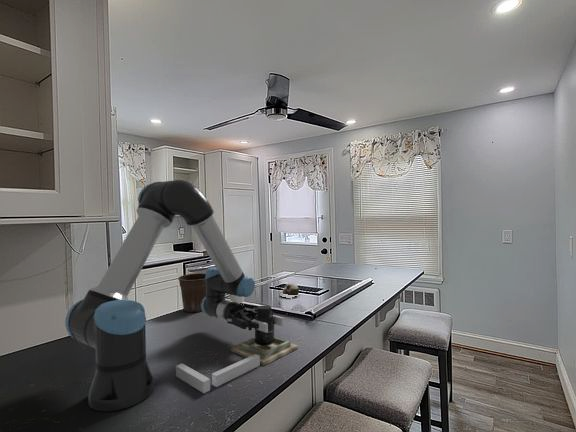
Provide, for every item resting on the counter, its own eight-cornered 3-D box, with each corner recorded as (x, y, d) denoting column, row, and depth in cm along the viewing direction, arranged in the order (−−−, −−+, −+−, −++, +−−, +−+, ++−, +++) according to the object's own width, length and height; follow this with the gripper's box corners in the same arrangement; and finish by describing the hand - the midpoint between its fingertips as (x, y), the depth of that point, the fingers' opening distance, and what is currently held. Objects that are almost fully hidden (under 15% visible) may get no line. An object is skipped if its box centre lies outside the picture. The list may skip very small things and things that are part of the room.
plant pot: (195, 315, 149) (194, 280, 149) (171, 311, 157) (170, 277, 157) (219, 306, 163) (219, 274, 163) (196, 302, 171) (195, 272, 171)
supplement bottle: (271, 347, 107) (271, 310, 107) (252, 345, 108) (251, 309, 108) (276, 338, 114) (276, 304, 113) (258, 337, 115) (257, 303, 115)
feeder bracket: (203, 393, 85) (203, 381, 85) (175, 376, 94) (175, 365, 94) (259, 365, 99) (259, 355, 99) (231, 353, 109) (230, 344, 109)
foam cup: (245, 306, 162) (244, 280, 162) (226, 307, 163) (226, 281, 162) (247, 301, 172) (247, 277, 172) (230, 301, 172) (229, 277, 172)
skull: (274, 295, 180) (281, 279, 186) (282, 304, 186) (289, 289, 192) (291, 297, 173) (298, 281, 179) (300, 307, 179) (306, 291, 185)
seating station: (264, 365, 100) (264, 357, 100) (231, 351, 110) (231, 343, 110) (297, 348, 112) (297, 341, 111) (265, 337, 122) (265, 330, 122)
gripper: (250, 315, 130) (294, 327, 115) (209, 328, 115) (253, 345, 100) (250, 296, 130) (294, 306, 115) (208, 307, 115) (252, 321, 100)
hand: (275, 324), depth 107 cm, fingers closed on supplement bottle, 7 cm apart
